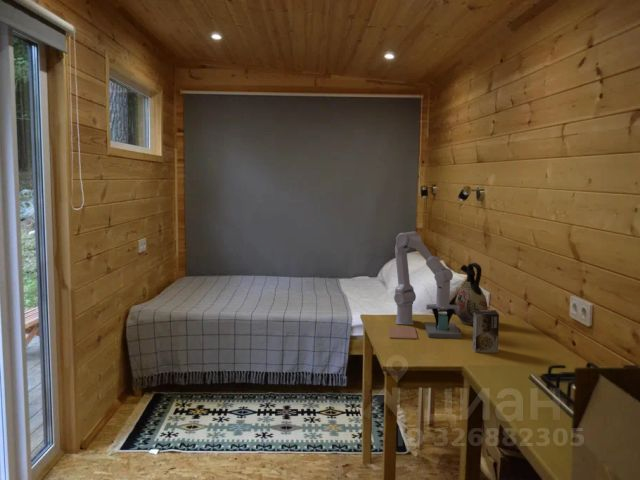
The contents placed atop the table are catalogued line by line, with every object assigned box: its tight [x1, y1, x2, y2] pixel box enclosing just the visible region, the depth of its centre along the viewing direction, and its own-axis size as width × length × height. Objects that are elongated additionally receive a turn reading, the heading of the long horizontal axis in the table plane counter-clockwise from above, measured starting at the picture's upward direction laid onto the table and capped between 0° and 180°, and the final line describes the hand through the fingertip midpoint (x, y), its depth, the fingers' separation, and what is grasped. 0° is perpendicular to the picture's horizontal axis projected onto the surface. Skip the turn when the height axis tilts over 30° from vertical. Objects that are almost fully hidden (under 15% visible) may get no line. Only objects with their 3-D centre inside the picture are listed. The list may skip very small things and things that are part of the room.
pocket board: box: [424, 321, 462, 339], centre depth 241 cm, size 18×14×2 cm
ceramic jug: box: [454, 262, 489, 326], centre depth 254 cm, size 17×15×30 cm
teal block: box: [437, 312, 448, 330], centre depth 241 cm, size 6×4×8 cm, turn 175°
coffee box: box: [472, 309, 500, 354], centre depth 215 cm, size 9×6×16 cm
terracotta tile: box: [388, 326, 418, 340], centre depth 239 cm, size 16×12×1 cm
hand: (442, 325), depth 241 cm, fingers closed on teal block, 4 cm apart
